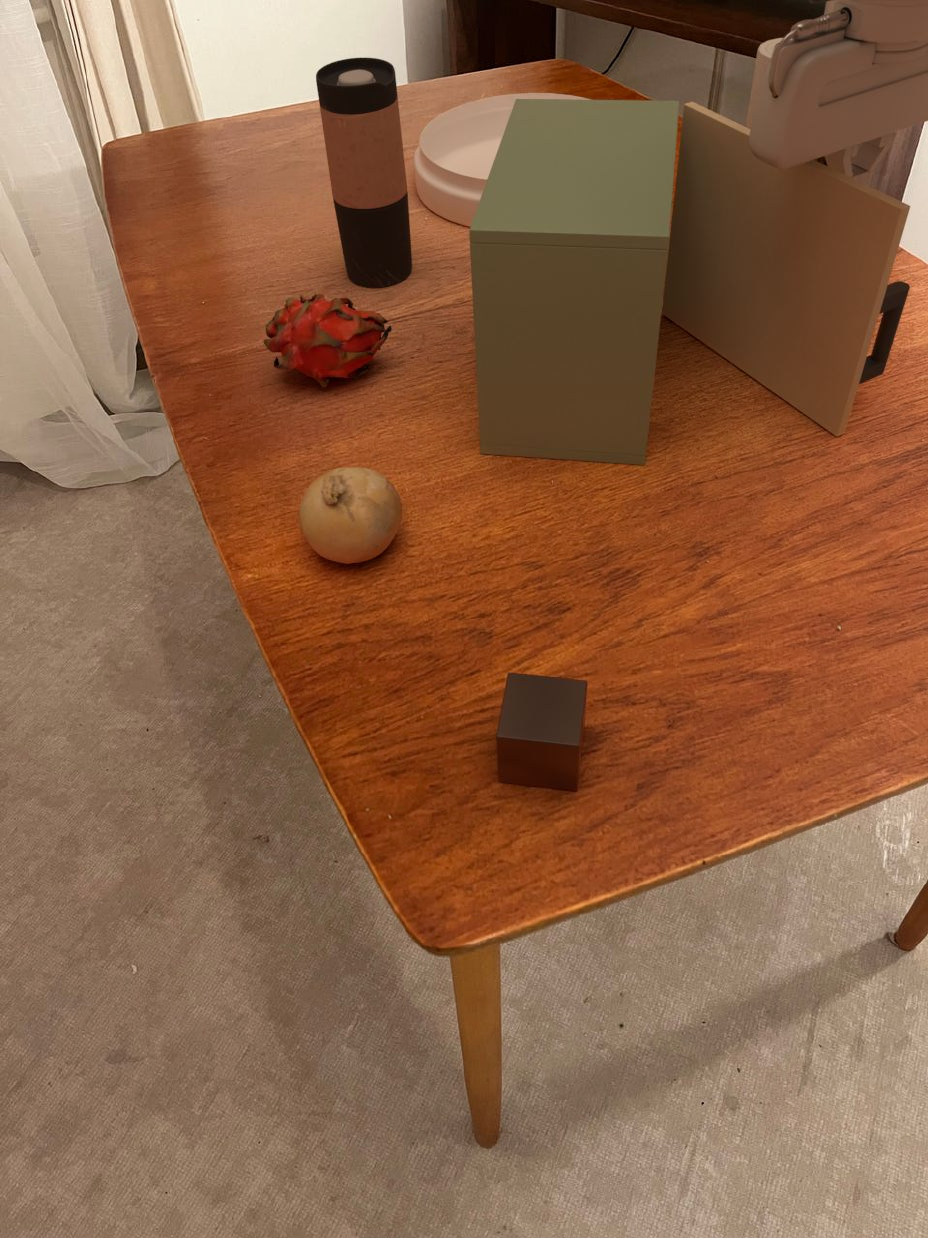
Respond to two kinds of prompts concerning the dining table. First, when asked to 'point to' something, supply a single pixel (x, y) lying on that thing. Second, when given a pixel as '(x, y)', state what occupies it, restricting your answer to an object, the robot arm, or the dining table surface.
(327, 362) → the dragon fruit
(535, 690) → the block
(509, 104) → the plate
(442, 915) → the dining table surface
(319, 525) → the onion
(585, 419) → the cupboard
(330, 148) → the travel mug
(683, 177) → the cupboard door
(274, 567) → the dining table surface
